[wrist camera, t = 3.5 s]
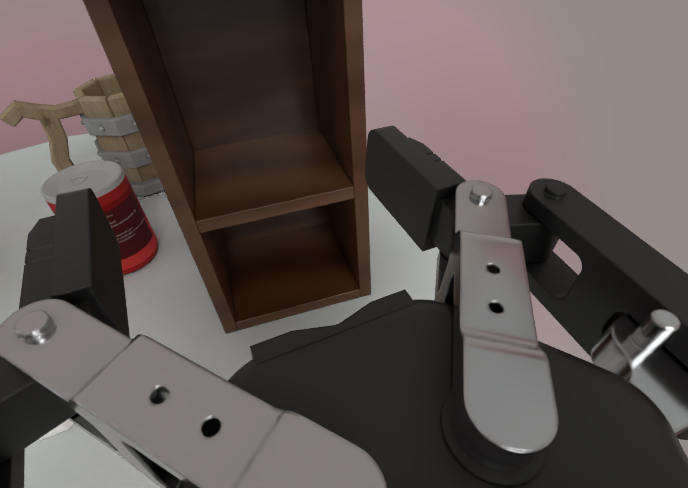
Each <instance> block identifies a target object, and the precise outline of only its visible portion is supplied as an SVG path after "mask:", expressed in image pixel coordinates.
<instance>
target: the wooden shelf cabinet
mask: <svg viewBox="0 0 688 488" xmlns="http://www.w3.org/2000/svg"><path fill="white" fill-rule="evenodd" d="M83 2H84V5H85V6H86V9H87V12H88V13H89V16H90V19H91V21H92V23H93V25H94V28H95V30H96V32H97V35H98V37H99V39H100V42H101V44H102V46H103V48H104V51H105V53H106V56H107V58H108V60H109V63H110V65H111V67H112V70H113V72H114V74H115V77H116V79H117V81H118V84H119V86H120V88H121V91H122V93H123V95H124V98H125V100H126V102H127V105H128V107H129V109H130V112H131V114H132V116H133V119H134V121H135V123H136V125H137V128H138V130H139V132H140V135H141V137H142V139H143V142H144V144H145V146H146V149H147V151H148V153H149V156H150V158H151V160H152V163H153V165H154V167H155V170H156V172H157V174H158V177H159V179H160V181H161V184H162V186H163V188H164V191H165V193H166V195H167V198H168V200H169V202H170V205H171V207H172V209H173V212H174V214H175V216H176V219H177V221H178V223H179V225H180V228H181V230H182V232H183V235H184V237H185V239H186V242H187V244H188V246H189V249H190V251H191V253H192V256H193V258H194V260H195V263H196V265H197V267H198V270H199V272H200V274H201V277H202V279H203V281H204V284H205V286H206V288H207V291H208V293H209V295H210V298H211V300H212V302H213V305H214V307H215V309H216V312H217V314H218V316H219V319H220V321H221V323H222V325H223V328H224V330H225V332H226V333H229V332H233V331H237V330H240V329H244V328H247V327H251V326H255V325H259V324H262V323H266V322H270V321H273V320H277V319H281V318H284V317H288V316H292V315H295V314H299V313H303V312H306V311H310V310H314V309H317V308H321V307H325V306H329V305H332V304H336V303H340V302H343V301H347V300H351V299H354V298H358V297H362V296H366V295H369V294H371V278H370V246H369V213H368V185H367V182H366V178H365V165H366V152H367V148H366V118H365V117H366V116H365V84H364V52H363V51H364V50H363V18H362V0H83Z"/></svg>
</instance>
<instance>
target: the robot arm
mask: <svg viewBox="0 0 688 488" xmlns="http://www.w3.org/2000/svg"><path fill="white" fill-rule="evenodd" d="M365 178H366V182H367V185H368V187H369V189H370V190H371V191H372V192H373V194H374V195H375V196H376V197H377V198H378V199H379V201H380V202H381V203H382V204H383V205H384V207H385V208H386V209H387V210H388V211H389V212H390V214H391V215H392V216H393V217H394V218H395V219H396V221H397V222H398V223H399V224H400V225H401V227H402V228H403V229H404V230H405V231H406V232H407V234H408V235H409V236H410V237H411V238H412V240H413V241H414V242H415V243H416V244H417V245H418V247H419V248H420V249H421V250H422V251H425V250H428V249H431V248H434V247H437V248H438V249H439V253H438V257H437V271H436V287H435V301H433V300H412V298H411V297H410V296H409V294H408V293H407V292H406V290H402V291H400V292H397V293H394V294H391V295H389V296H386V297H383V298H381V299H378V300H375V301H372V302H370V303H369V304H367V305H366V306H364V307H363V308H361V309H360V310H358V311H357V312H356V313H354V314H353V315H351V316H350V317H348V318H347V319H345V320H344V321H342V322H341V323H339V324H337V325H333V326H325V327H318V328H310V329H303V330H295V331H290V332H288V333H285V334H282V335H280V336H277V337H274V338H271V339H269V340H266V341H263V342H260V343H258V344H255V345H252V346H250V349H251V353H252V357H253V359H252V360H251V361H250V362H248V363H247V364H245V365H244V366H243V367H242V368H240V369H239V370H238V371H237V372H236V373H235V374H234V375H233V376H232V377H231V378H230V379H229V380H228V381H226V380H225V379H223V378H221V377H219V376H218V375H216V374H214V373H212V372H210V371H209V370H207V369H205V368H203V367H202V366H200V365H198V364H196V363H194V362H193V361H191V360H189V359H187V358H186V357H184V356H182V355H180V354H178V353H177V352H175V351H173V350H171V349H170V348H168V347H166V346H164V345H162V344H161V343H159V342H157V341H155V340H154V339H152V338H150V337H148V336H145V335H142V334H139V335H137V336H136V337H135V338H134V339H132V338H130V336H129V327H128V317H127V308H126V299H125V289H124V280H123V271H122V262H121V253H120V249H119V245H118V242H117V239H116V236H115V234H114V232H113V230H112V228H111V226H110V224H109V222H108V220H107V217H106V215H105V213H104V211H103V209H102V207H101V205H100V203H99V201H98V199H97V197H96V195H95V193H94V192H93V190H92V189H91V188H86V189H81V190H76V191H72V192H67V193H62V194H58V195H57V196H56V208H55V216H51V217H47V218H42V219H39V221H38V222H37V223H36V225H35V226H34V227H33V229H32V230H31V231H30V233H29V234H28V240H27V248H26V250H27V253H26V257H25V264H26V265H24V273H23V281H22V289H21V297H20V305H19V310H17V311H16V312H14V313H13V314H12V315H10V316H9V317H8V318H7V319H6V320H5V321H4V322H3V323H2V324H1V325H0V488H24V452H25V448H26V447H27V446H29V445H30V444H32V443H33V442H35V441H36V440H38V439H39V438H41V437H42V436H44V435H45V434H47V433H48V432H50V431H51V430H53V429H54V428H56V427H57V426H59V425H60V424H62V423H63V422H65V421H66V420H68V419H69V420H70V421H72V422H73V423H74V424H76V425H77V426H79V427H80V428H81V429H83V430H84V431H86V432H87V433H88V434H90V435H91V436H93V437H94V438H95V439H97V440H98V441H100V442H101V443H103V444H104V445H105V446H107V447H108V448H110V449H111V450H112V451H114V452H115V453H117V454H118V455H119V456H121V457H122V458H124V459H125V460H126V461H127V462H129V463H130V464H131V465H132V466H134V467H135V468H136V469H137V470H138V471H140V472H141V473H142V474H143V475H145V476H146V477H147V478H148V479H150V480H151V481H152V482H154V483H155V484H157V485H158V486H159V487H161V488H688V458H687V456H686V454H685V453H684V451H683V449H682V447H681V445H680V443H679V440H678V439H683V440H688V274H687V273H686V272H684V271H683V270H682V269H680V268H679V267H678V266H676V265H675V264H674V263H672V262H671V261H670V260H668V259H667V258H666V257H664V256H663V255H662V254H660V253H659V252H658V251H656V250H655V249H654V248H652V247H651V246H650V245H648V244H647V243H646V242H644V241H643V240H642V239H640V238H639V237H638V236H636V235H635V234H634V233H632V232H631V231H630V230H628V229H627V228H626V227H624V226H623V225H622V224H620V223H619V222H618V221H616V220H615V219H614V218H612V217H611V216H610V215H608V214H607V213H606V212H604V211H603V210H601V208H599V207H598V206H597V205H595V204H594V203H593V202H591V201H590V200H589V199H587V198H586V197H584V196H583V195H582V194H581V193H579V192H578V191H577V190H575V189H574V188H573V187H571V186H570V185H568V184H565V183H563V182H561V181H557V180H554V179H537V180H535V181H533V182H532V183H531V184H530V186H529V188H528V190H527V193H526V194H523V195H504V193H503V192H502V191H501V190H500V189H499V188H497V187H496V186H494V185H492V184H489V183H486V182H483V181H466V180H465V179H464V178H462V177H461V176H460V175H459V174H458V173H457V172H455V171H454V170H453V169H452V168H451V167H450V166H448V165H447V164H446V163H445V162H444V161H441V159H440V158H439V157H438V156H437V155H436V154H433V152H432V151H431V150H430V149H429V148H428V147H426V146H425V145H424V144H423V143H420V142H418V141H416V140H414V139H411V138H407V137H406V136H405V135H404V134H403V133H402V132H400V131H399V130H398V129H397V128H396V127H394V126H388V127H383V128H379V129H374V130H371V131H370V132H369V134H368V140H367V152H366V165H365ZM559 239H561V240H562V241H563V242H564V243H565V244H566V245H567V246H568V247H570V248H571V249H572V250H573V251H574V252H575V253H576V254H577V255H578V256H579V258H580V259H581V262H582V270H581V273H580V274H579V275H578V274H577V273H575V272H574V271H573V270H572V269H571V268H570V267H569V266H568V265H567V264H566V263H565V262H564V261H563V260H562V259H560V258H559V257H558V256H557V255H556V254H555V253H554V252H553V249H554V247H555V245H556V243H557V242H558V240H559ZM530 292H531V293H532V294H533V295H534V296H535V297H536V298H537V299H538V300H539V301H540V303H541V304H542V305H544V307H545V308H546V309H547V310H548V311H549V312H550V313H551V314H552V315H553V317H554V318H555V319H556V320H557V321H558V322H559V323H560V324H561V325H562V326H563V327H564V328H565V330H567V332H568V333H569V334H570V335H571V336H572V337H573V338H574V339H575V340H576V341H577V343H578V344H580V346H581V347H582V348H583V349H584V350H585V351H586V352H587V353H588V354H589V355H590V357H591V359H592V362H593V364H592V363H590V362H587V361H585V360H582V359H580V358H578V357H575V356H573V355H571V354H568V353H566V352H563V351H561V350H559V349H556V348H554V347H551V346H549V345H547V344H544V343H542V342H539V341H538V340H537V334H536V327H535V321H534V315H533V308H532V302H531V297H530Z"/></svg>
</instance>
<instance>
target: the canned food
mask: <svg viewBox="0 0 688 488" xmlns="http://www.w3.org/2000/svg"><path fill="white" fill-rule="evenodd" d="M86 188H91V189H92V190H93V192H94V193H95V195H96V197H97V199H98V201H99V203H100V205H101V207H102V209H103V211H104V213H105V215H106V217H107V220H108V222H109V224H110V226H111V228H112V230H113V232H114V234H115V236H116V239H117V242H118V245H119V249H120V253H121V262H122V271H123V275H124V274H128V273H131V272H134V271H136V270H138V269H140V268H142V267H143V266H145V265H146V264H147V263H149V262H150V261H151V260H152V259H153V258H154V256H155V255H156V253H157V250H158V243H157V238H156V236H155V234H154V232H153V230H152V228H151V226H150V224H149V221H148V219H147V217H146V215H145V213H144V211H143V209H142V207H141V205H140V203H139V201H138V199H137V197H136V195H135V193H134V190H133V188H132V186H131V184H130V182H129V180H128V178H127V177H126V175H125V172H124V171H123V169H122V168H121V166H120V165H119V164H117V163H115V162H112V161H90V162H85V163H81V164H77V165H74V166H71V167H68V168H66V169H64V170H61V171H60V172H58V173H56V174H54V175H53V176H51V177H50V178H49V179H48V180H47V181H45V183H44V184H43V185H42V188H41V193H42V195H43V197H44V199H45V200H46V202H47V203H48V205H49V206H50V208H51V210H52V211H53V213H54V214H55V208H56V196H57V195H58V194H62V193H67V192H72V191H76V190H81V189H86Z"/></svg>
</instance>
